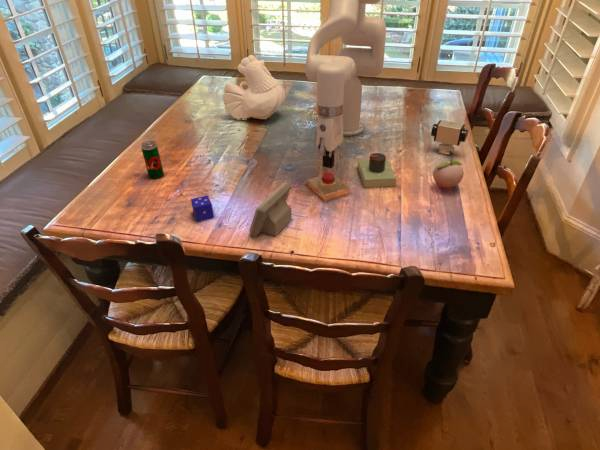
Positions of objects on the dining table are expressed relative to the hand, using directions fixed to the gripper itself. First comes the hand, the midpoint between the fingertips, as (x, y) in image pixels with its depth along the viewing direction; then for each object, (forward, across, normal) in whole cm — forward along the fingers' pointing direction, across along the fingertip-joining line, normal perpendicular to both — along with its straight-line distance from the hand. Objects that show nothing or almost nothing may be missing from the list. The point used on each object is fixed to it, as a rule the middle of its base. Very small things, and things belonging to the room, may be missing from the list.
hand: (328, 166), depth 134 cm
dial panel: (+8, +14, -11) cm, 20 cm away
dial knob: (+5, +14, -11) cm, 19 cm away
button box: (+9, 0, 0) cm, 9 cm away
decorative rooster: (+8, +41, +52) cm, 66 cm away
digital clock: (+9, -24, +7) cm, 26 cm away
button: (+5, 0, 0) cm, 5 cm away
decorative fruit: (+9, +17, -34) cm, 39 cm away
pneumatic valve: (+8, +42, -28) cm, 52 cm away
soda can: (+9, -17, +57) cm, 60 cm away
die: (+9, -29, +28) cm, 41 cm away
